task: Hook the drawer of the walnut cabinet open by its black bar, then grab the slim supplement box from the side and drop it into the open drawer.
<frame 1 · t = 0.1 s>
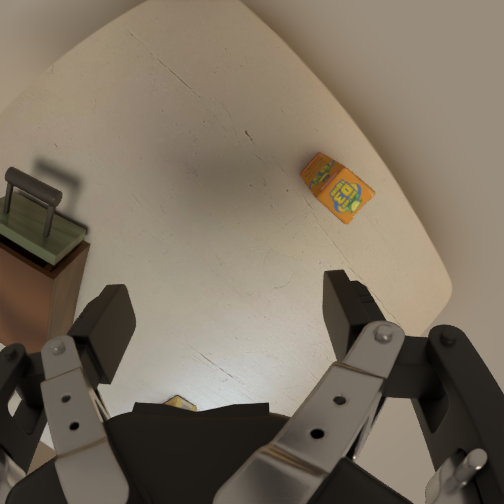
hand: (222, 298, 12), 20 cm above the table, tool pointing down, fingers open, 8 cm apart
drawer: (26, 252, 29), point 4 cm above the table, slide at 0.8 cm
supplement box: (319, 172, 30), on the table
cabinet: (40, 270, 34), on the table
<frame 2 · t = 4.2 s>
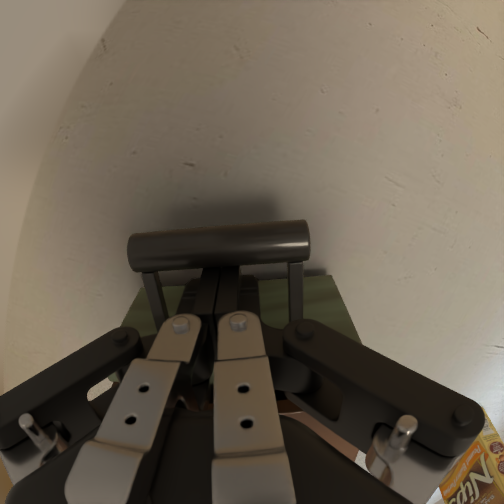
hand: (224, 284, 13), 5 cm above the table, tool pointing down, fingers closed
drawer: (239, 376, 17), point 4 cm above the table, slide at 1.1 cm, touching gripper
candy box: (453, 428, 29), on the table
cabinet: (247, 383, 23), on the table
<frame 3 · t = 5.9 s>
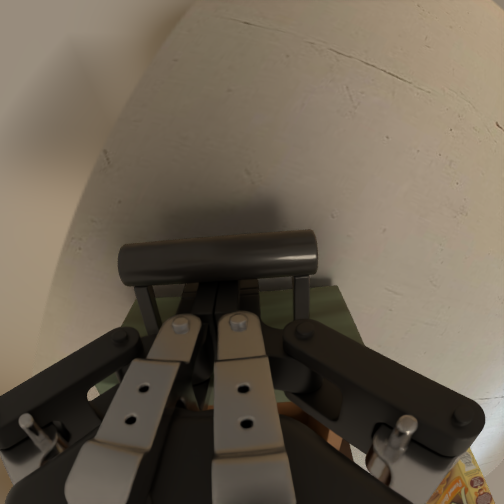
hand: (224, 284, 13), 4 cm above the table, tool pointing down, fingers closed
drawer: (240, 392, 16), point 4 cm above the table, slide at 7.7 cm
candy box: (440, 460, 30), on the table
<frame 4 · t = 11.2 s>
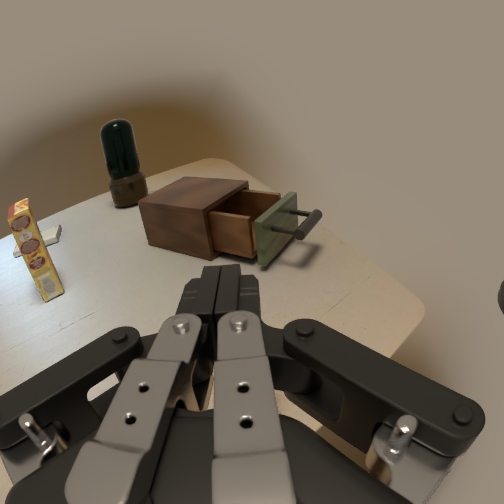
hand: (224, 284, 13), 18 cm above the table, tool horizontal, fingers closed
lamp: (132, 202, 78), on the table
drawer: (257, 222, 49), point 4 cm above the table, slide at 7.9 cm
candy box: (51, 287, 47), on the table
hard drive: (38, 244, 64), on the table
cabinet: (200, 235, 57), on the table
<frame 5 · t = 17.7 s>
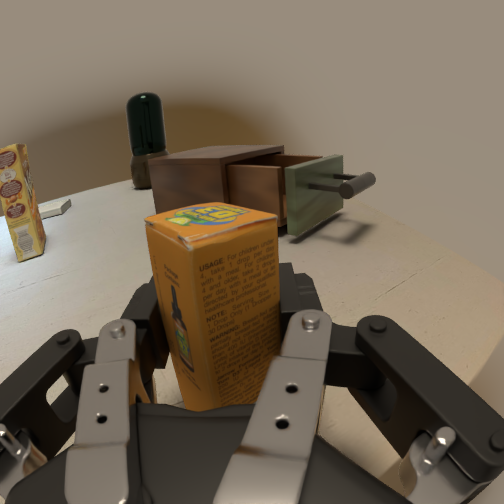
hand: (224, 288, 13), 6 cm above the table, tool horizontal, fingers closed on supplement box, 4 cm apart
lamp: (153, 185, 70), on the table
drawer: (290, 187, 37), point 4 cm above the table, slide at 7.9 cm
supplement box: (238, 428, 13), on the table, touching gripper
candy box: (33, 250, 38), on the table
hard drive: (43, 216, 58), on the table
cabinet: (220, 209, 46), on the table
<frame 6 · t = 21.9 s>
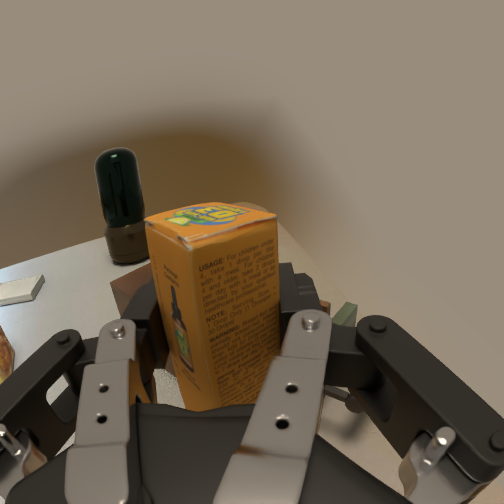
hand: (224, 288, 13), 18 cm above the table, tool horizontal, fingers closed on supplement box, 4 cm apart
lamp: (133, 257, 62), on the table
drawer: (286, 352, 28), point 4 cm above the table, slide at 7.9 cm
supplement box: (238, 429, 13), point 11 cm above the table, touching gripper
candy box: (2, 374, 30), on the table
hard drive: (15, 295, 49), on the table
cabinet: (202, 339, 37), on the table
when the fingers open (10 cm above the table, at t = 26.2 s): supplement box drops 2 cm, resting on drawer.
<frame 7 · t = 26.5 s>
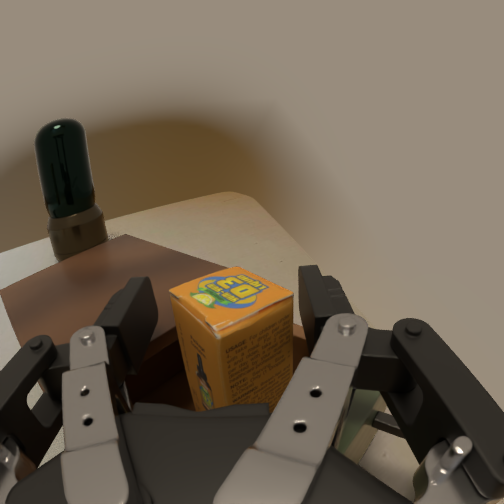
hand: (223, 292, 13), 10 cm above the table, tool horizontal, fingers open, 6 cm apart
lamp: (84, 256, 46), on the table
drawer: (256, 440, 13), point 4 cm above the table, slide at 7.9 cm, touching supplement box
supplement box: (250, 455, 14), point 2 cm above the table, touching drawer
cabinet: (135, 383, 22), on the table
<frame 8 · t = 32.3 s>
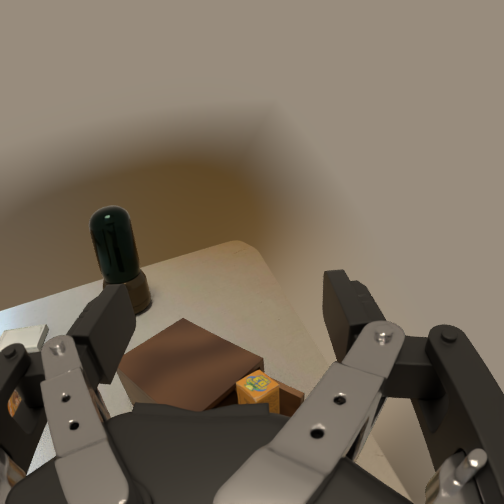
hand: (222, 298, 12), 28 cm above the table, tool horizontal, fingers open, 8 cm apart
lamp: (131, 307, 64), on the table
drawer: (265, 432, 31), point 4 cm above the table, slide at 7.9 cm, touching supplement box
supplement box: (262, 439, 32), point 2 cm above the table, touching drawer
candy box: (21, 430, 32), on the table
hard drive: (22, 344, 52), on the table
cabinet: (196, 405, 40), on the table
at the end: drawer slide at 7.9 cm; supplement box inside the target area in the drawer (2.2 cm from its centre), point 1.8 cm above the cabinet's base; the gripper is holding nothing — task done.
